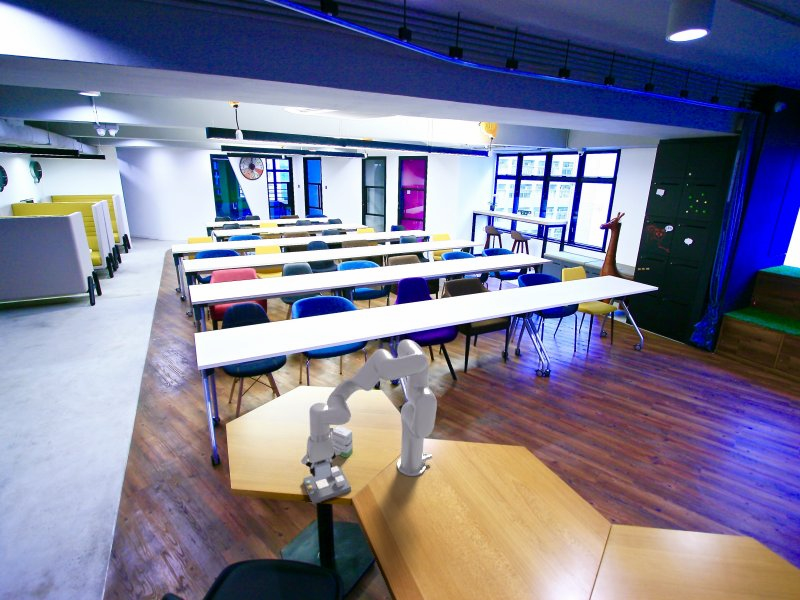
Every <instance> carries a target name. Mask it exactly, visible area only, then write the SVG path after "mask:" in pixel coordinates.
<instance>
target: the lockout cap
mask: <svg viewBox="0 0 800 600" xmlns="http://www.w3.org/2000/svg"><path fill="white" fill-rule="evenodd" d="M314 468H315V476H314V477H315V479H316V481H317V480H320V479H323V478H326V477H329V476H331V466H330V462H329V460H328V459H325V460H321V461H318V462H315V465H314Z"/></svg>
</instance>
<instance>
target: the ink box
mask: <svg viewBox="0 0 800 600" xmlns="http://www.w3.org/2000/svg"><path fill="white" fill-rule="evenodd" d="M331 436H332V440H333V446H334V447H335V448H337V449H338V450H339V451H340V452H339V453H338V454H337V455H339V456H340V457H343V458H346V459H348V458H349V457H350V456H351V455H352V454H353V453H354V452H353V451H354V450H353V449H354V448H353V447H354V445H353V431H352V430H350V429H348V428H345V427H343V426H341V425H336V427H334V428H333V431H332V432H331Z"/></svg>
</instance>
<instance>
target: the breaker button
mask: <svg viewBox="0 0 800 600" xmlns="http://www.w3.org/2000/svg"><path fill="white" fill-rule="evenodd" d="M315 484H316V487H317V489H318V490H320V489H323V488H326V487H329V484H328V482H327V480H326V478H325V479H322V480H319V481H316V482H315Z"/></svg>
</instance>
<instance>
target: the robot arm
mask: <svg viewBox="0 0 800 600" xmlns="http://www.w3.org/2000/svg"><path fill="white" fill-rule="evenodd" d="M396 352H397V356H398V357H396V358H395V357H394V356H393V355H392V354H391V353H390V351H388V350H387V349H384V348H378V349H376V350H375V351H374V352H373V353H372V354H371V356H369V358H368V359H367V360H366V361H365V362H364V364H363V365H362V366H361V367H360V369H359V370H358V371H357V372H356V373H355V374H354V375H353V376H351V377H349V378H347V379H345V380H343V381H342V382H340V383H339V384H338V385H337V386H336V387H335V388H334V389H333V391H332V392H331V393H330V395H329V396H328V397H327V401H326V403H323V402H317V403H314V404H312V405H311V406H310V408H309V411H308V412H309V435H308V438H307V442H306V454H305V455H304V456H303V458H302V459H301V464H303V465H304V466H306V467H308V468H309V473H310V475H311V476H312V475H313V477H314V476H315V468H314V465H315V462H318V461H321V460H325V459H328V460H329V462H330V466H331V468H332V467H333V462H334V460H335V459H336V457H337V455H338V453H339V452H340V451H339V450H338V449H337V448H335V447H334V446H333V440H332V431H333V429H334V428H333V427H331V426H332V425H333V426H334V425H335V426H342V425H346V424H347V423H349V421H350V420H351V418H352V413H351V410H350V407H349V405H348V403H347V401H348V399H349V398H350V397H351V396H352V395H353V394H354V393H355V392H357V391H361V390H363V391H366V392H370V391H371V390H373V388H374V387H375V386H376V385H377V384H378V382H379V381H380V380H381V379H382V380H384V381H395V380H398V379H402V378H405V377H406V378H407V382H406V387H405V388H406V390H405V395H406V398H407V399H408V401H406V402H405V403H404V404H403V405H402V407H401V410H400V421H401V422H400V423H401V446H400V447H401V448H400V458H398V460H397V462H396V463H397V464H396V467H397V470H398V472H400V473H401V474H402V475H405V476H408V477H417V476H420V475H421V474H423V473H424V472H425V471H426V469H427V468H426V466H427V464H426V462H427V461H429V460H432V459H433V456H432V454H427V452H424V441H425V438H427V437H428V436H430V435H431V434H432V432H433V430H434V427H435V423H436V422H435V421H436V416H437V414H436V413H437V407H438V401H437V398H436V395H435V394H434V393H433V391H432V390H431V389H430V387H429V380H430V379H429V377H430V364H429V359H428V357H427V354H426V353H425V351H424V349H423V348H422V347H421V346H420V345H419V344H418V343H417V342H415V340H411V339H403V340H400V341H399V343H398V345H397V351H396Z"/></svg>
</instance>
